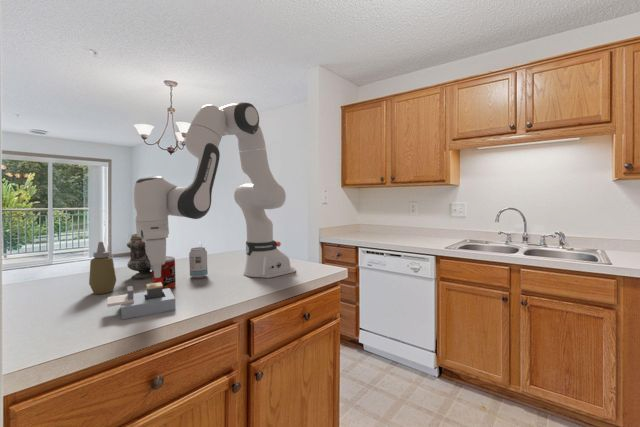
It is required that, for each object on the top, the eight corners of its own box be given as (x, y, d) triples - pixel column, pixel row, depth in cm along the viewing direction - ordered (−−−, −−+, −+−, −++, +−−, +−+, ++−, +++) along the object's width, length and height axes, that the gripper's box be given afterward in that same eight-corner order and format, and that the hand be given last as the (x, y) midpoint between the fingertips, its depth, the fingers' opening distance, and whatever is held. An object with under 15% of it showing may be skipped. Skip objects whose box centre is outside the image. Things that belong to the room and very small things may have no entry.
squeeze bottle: (84, 296, 111) (81, 244, 109) (97, 288, 119) (94, 240, 117) (110, 295, 112) (107, 243, 110) (120, 287, 120) (118, 239, 118)
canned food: (167, 291, 116) (165, 261, 115) (147, 290, 118) (146, 260, 117) (180, 285, 123) (179, 256, 123) (161, 283, 125) (160, 255, 124)
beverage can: (210, 275, 137) (210, 247, 137) (202, 279, 131) (201, 250, 130) (195, 274, 139) (194, 246, 138) (186, 278, 132) (185, 249, 131)
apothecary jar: (162, 271, 143) (160, 231, 142) (159, 278, 132) (157, 235, 130) (131, 274, 139) (129, 232, 137) (125, 281, 128) (122, 236, 126)
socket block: (169, 298, 109) (169, 288, 108) (175, 309, 99) (175, 298, 98) (121, 306, 101) (120, 295, 101) (121, 319, 91) (121, 307, 91)
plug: (161, 303, 104) (161, 282, 103) (163, 307, 100) (162, 285, 100) (147, 306, 102) (146, 284, 101) (148, 310, 98) (147, 287, 98)
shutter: (133, 295, 101) (132, 285, 100) (134, 302, 95) (133, 291, 94) (107, 299, 97) (107, 288, 97) (107, 306, 91) (106, 295, 91)
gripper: (138, 226, 106) (141, 267, 108) (143, 234, 89) (147, 283, 90) (160, 224, 110) (162, 264, 111) (168, 232, 92) (171, 279, 94)
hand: (155, 273), depth 101 cm, fingers open, 8 cm apart
